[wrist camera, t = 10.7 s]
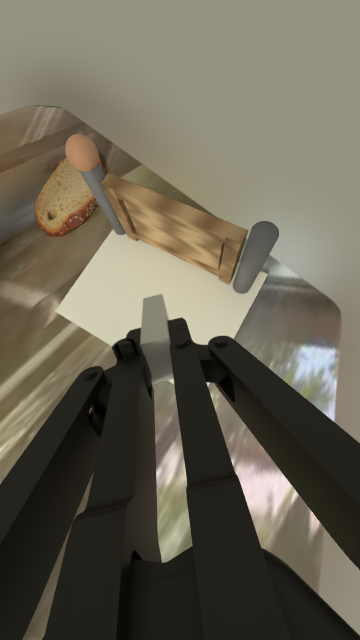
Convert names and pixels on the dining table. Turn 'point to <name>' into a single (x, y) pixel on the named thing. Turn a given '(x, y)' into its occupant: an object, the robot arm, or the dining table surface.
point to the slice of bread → (64, 200)
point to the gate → (176, 227)
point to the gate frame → (156, 275)
